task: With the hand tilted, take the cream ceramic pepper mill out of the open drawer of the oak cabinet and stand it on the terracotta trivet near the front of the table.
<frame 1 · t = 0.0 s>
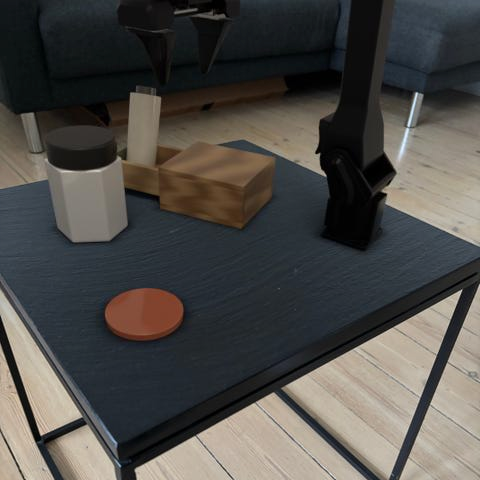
hand: (184, 79, 72), 15 cm above the table, tool pointing down, fingers open, 9 cm apart
drawer: (149, 167, 77), point 3 cm above the table, slide at 9.0 cm, touching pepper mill
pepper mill: (140, 166, 78), point 3 cm above the table, tilted 19°, touching drawer
jar: (93, 229, 68), on the table
trivet: (145, 316, 54), on the table
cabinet: (217, 202, 75), on the table
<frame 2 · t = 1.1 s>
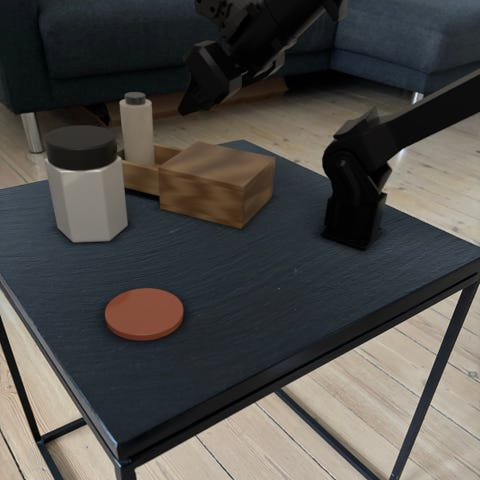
hand: (197, 103, 68), 13 cm above the table, tool tilted 45°, fingers open, 9 cm apart
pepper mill: (140, 171, 78), point 2 cm above the table, touching drawer
everything else where it was.
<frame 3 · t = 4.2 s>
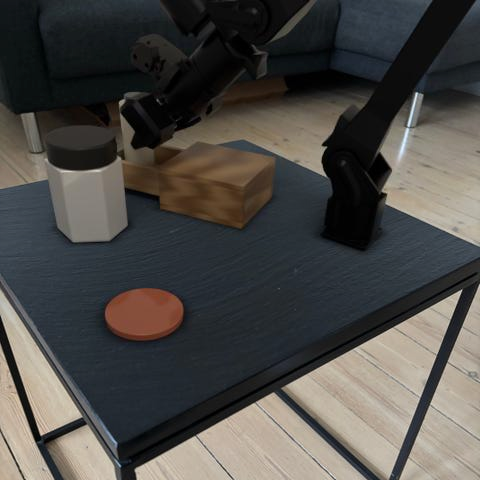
hand: (141, 141, 75), 7 cm above the table, tool tilted 45°, fingers closed on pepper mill, 4 cm apart
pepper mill: (140, 171, 78), point 2 cm above the table, touching drawer, gripper
everything else where it was.
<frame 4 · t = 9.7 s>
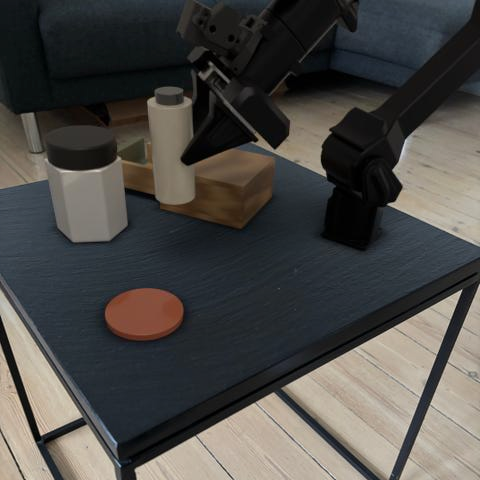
hand: (178, 154, 54), 13 cm above the table, tool tilted 45°, fingers closed on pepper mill, 4 cm apart
drawer: (149, 167, 77), point 3 cm above the table, slide at 9.0 cm
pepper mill: (175, 195, 57), point 9 cm above the table, touching gripper
everything else where it was.
when the fingers open (5 cm above the table, at t = 15.3 s): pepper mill stays where it is, resting on trivet.
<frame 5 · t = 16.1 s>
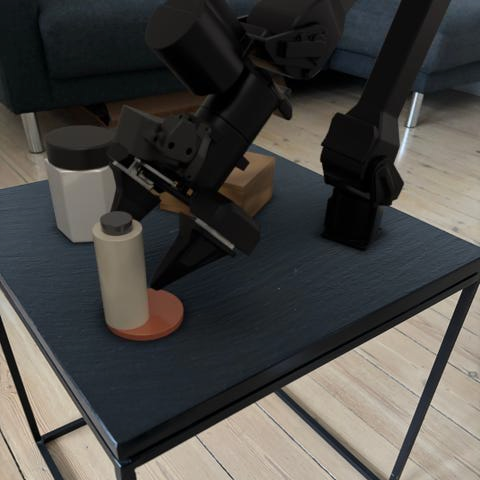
hand: (127, 265, 49), 7 cm above the table, tool tilted 45°, fingers open, 9 cm apart
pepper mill: (127, 316, 52), point 1 cm above the table, touching trivet
everything else where it was.
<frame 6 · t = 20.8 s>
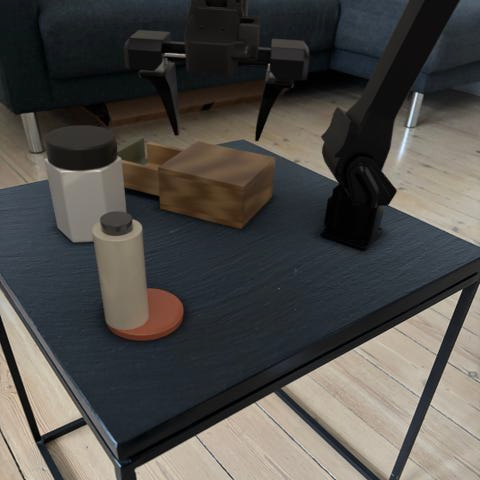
hand: (216, 137, 59), 13 cm above the table, tool pointing down, fingers open, 9 cm apart
nothing on the table moved.
at the end: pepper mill 2.0 cm off-centre on the trivet, point 0.8 cm above the trivet's base; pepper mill tilted 0°; the gripper is holding nothing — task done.
